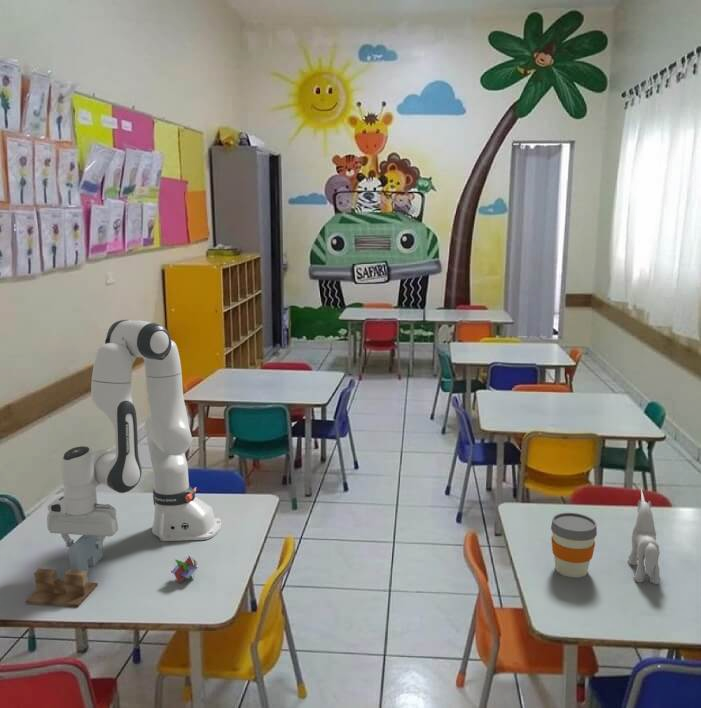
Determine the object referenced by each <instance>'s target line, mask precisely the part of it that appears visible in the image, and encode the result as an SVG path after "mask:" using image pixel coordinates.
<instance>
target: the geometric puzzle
mask: <svg viewBox="0 0 701 708" xmlns="http://www.w3.org/2000/svg"><path fill="white" fill-rule="evenodd" d="M180 559H182V557H181V558H180ZM183 559H185V561H182V560H178V559H174V561H175V563H176V565H175V566H174V568H172V570H171V571H170V573H171V574H172V575H173V577H174V576H175V577H174V578H175V580H176V581H177V583H178V585H179V584H181V583H184V582H186V580H190V581H194V577H195V571H197V570H198V567H199V565H198V562H197V560H195V559H194V558H193V557H191V556H190V555H189V556H186V557H183ZM184 578H185V579H184Z"/></svg>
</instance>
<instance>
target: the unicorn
mask: <svg viewBox="0 0 701 708" xmlns="http://www.w3.org/2000/svg"><path fill="white" fill-rule="evenodd" d="M640 495H641V497H640V498H641V499H639V500H638V502H637V515H636V516H637V517H636V522H635V524H634V528H633V530H632V534H631V552H630V554H629V556H628V557H627V558H628V559H627V563H628V564H629V565H633V566H636V565H637V566H636V570H635V573H634V577H633V580H634V582H638V583H643V582H645V574H646V573H647V575H648V576H649V577H650V578H649V581H650V583H651V584H654V585H660V583H661V582H660V581H661V578H660V567H659V558H660V557H659V556H660V554H661V552H660V546H659V544H658V543H657V532H656V527H655V522H654V517H653V512H652V502H651V500H648V502H647V501H646V500H645V496H644V493H643V489H642V487H640ZM645 570H646V571H645ZM645 572H646V573H645Z"/></svg>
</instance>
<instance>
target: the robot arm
mask: <svg viewBox="0 0 701 708" xmlns="http://www.w3.org/2000/svg"><path fill="white" fill-rule="evenodd" d="M180 357H181V356H180V354H179V349H178V346H177V343H176V342H175V341H174V340H172V337H171V335H170V333H169V331H168V330H167V328H166V327H164V326H162V325H161V324H158V323H156V322H150V321H146V320H140V319H138V320H130V319H121V320H117V321H115V322H113V324H111V326H110V327H109V329H108V331H107V334H106V338H105V341H104V344H102V345H100V347H99V348H97V352H96V354H95V357H94V358H95V359H94V362H93V369H92V373H91V383H90V384H91V385H90V391H91V392H90V394H91V399H92V402H93V403H94V405H95V406H96V407H97V408H98V409H99V410H100V411H101V412H102V413H104V415H105V416H107V418H108V419H109V420H110V422H111V424H113V428H114V431H115V432H114V434H115V435H114V436H115V439H114V440H115V452H113V451H109V450H106V449H105V450H104V449H100V450H96V449H92V448H90V447H88V446H85V445H82V446H81V445H80V446H76V447H72V448H70V449H69V450H66V452H64V454H63V456H62V459H61V481H62V485H63V488H64V489H63V490H64V491H63V495H60V496H58V497H57V498H55V499H53V501H51V502H50V503H49V504H48V505H47V511H48V513H47V516H46V524H47V526H46V527H47V530H48V532H49V533H50V534H60V535H61V536H60V537H61V538H62V540H63V541H64V543H65V547H66V548H69V547H70V546H72V545H73V544H74V543H75V541H74V539H71V537H70V535H77V536H78V535H79V536H82V535H93V536H98V539H100V540H99V541H97V543H95V546H96V547H95V548H96V549H101V548H102V549H103V547H104V543H103V542H104V540H105V539H106V537H113V536H114V535H115V534H116V533H117V532H118V530H119V523H118V519H117V510H116V508H115V507H114V506H113V505H111V504H107V503H106V504H103V503H98V497H97V487H98V486H100V485H102V486H105V487H107V488H110V489H111V490H113V491H115V492H117V493H120V494H125V493H128V492H130V491H132V490H133V489H134V488H135V487H136V486H137V485H138V484H139V482H140V480H141V479H142V478H141V477H142V474H143V473H142V465H141V461H140V458H139V446H138V445H139V444H138V443H139V442H138V439H139V438H138V422H137V421H138V420H137V412H136V408H135V406H134V403H133V395H132V376H133V375H132V369H133V366H134V362H135V361H136V359H137V358H143V361H144V372H145V373H144V375H145V386H146V387H145V388H146V397H147V403H148V406H149V410H150V412H149V414H148V415H147V416H146V419H145V421H144V422H145V423H144V425H145V427H144V428H145V432H146V438H147V439H146V441H147V445H148V451H149V455H150V456H149V457H150V461H151V466H152V467H151V469H152V478H153V489H152V500H153V505H154V517H153V524H152V528H151V532H152V534H153V535H154V536H156V537H158V538H159V541H161V542H176V541H177V542H178V541H179V542H181V541H182V542H183V541H200V540H201V541H203V540H205V541H206V540H210V539H212V538H213V537H214V536H216V535H217V534H218V533H219V531H220V530H221V528H222V525H223V524H222V523H223V522H222V520H221V518H219V517H215V513H214V510H213V508H212V506H211V505H210V504H207V503H206V502H204V501H203V500H201V499H200V498H198V497H197V496H196V491H197V486H196V487H194V488H192V487H191V486H190V482H189V467H188V460H187V457H186V454H185V453H186V452H187V451H188V450H189V449H190V447H191V445H192V442H193V436H192V433H191V428H190V423H189V417H188V412H187V407H186V402H185V397H184V388H183V387H184V386H183V374H182V373H183V372H182V365H181V364H182V363H181V358H180Z"/></svg>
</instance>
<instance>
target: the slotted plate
mask: <svg viewBox="0 0 701 708" xmlns="http://www.w3.org/2000/svg"><path fill="white" fill-rule="evenodd" d="M99 540H100V539H98V536H93V535H80V537H79V538H78V539H77V540H76V541H74V542H73V543H74V544H73V545H72V546H70V547H67V551H68V558H69V559H68V561H69V570H74V571H86V572H87V574H88V573H89V567H94V566H95V565H97V563H98V562H99V561H100V560H101V559H102V558H103V551H102V549H103V547H102V548H101V549H96V548H95V547H96V546H95V543H97V541H99Z"/></svg>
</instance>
